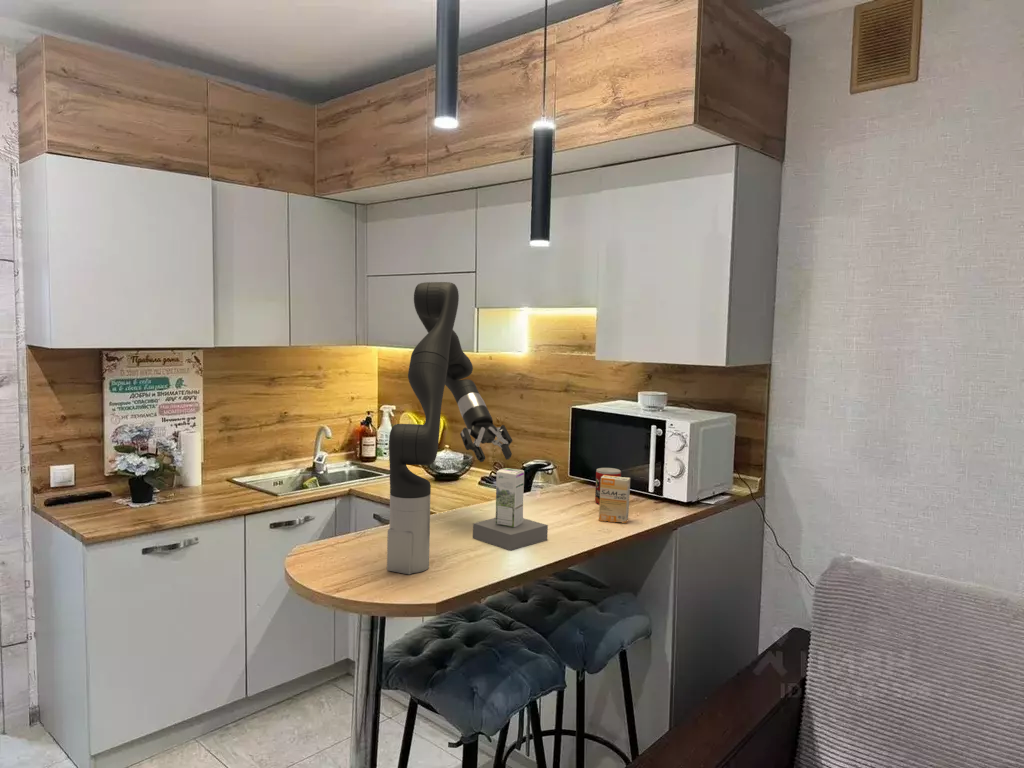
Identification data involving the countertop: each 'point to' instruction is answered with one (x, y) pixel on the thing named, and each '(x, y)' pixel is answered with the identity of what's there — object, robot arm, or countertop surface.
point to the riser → (510, 533)
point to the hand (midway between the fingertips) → (496, 459)
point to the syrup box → (509, 497)
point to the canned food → (599, 474)
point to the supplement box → (614, 499)
